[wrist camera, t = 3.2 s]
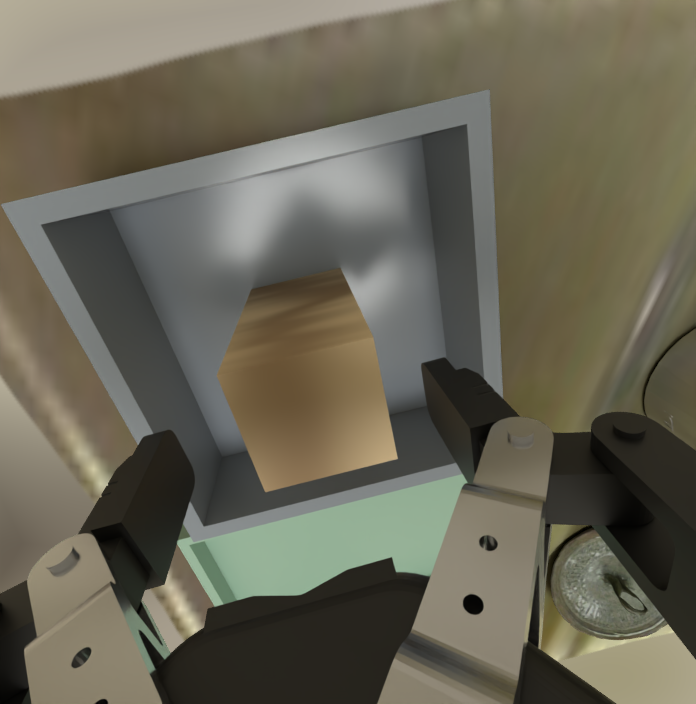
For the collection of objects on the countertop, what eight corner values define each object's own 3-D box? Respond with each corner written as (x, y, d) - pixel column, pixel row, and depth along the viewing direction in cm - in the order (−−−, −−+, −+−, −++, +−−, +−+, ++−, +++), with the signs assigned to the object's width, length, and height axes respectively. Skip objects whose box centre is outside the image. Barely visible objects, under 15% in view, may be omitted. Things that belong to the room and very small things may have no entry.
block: (340, 267, 19) (373, 337, 11) (358, 348, 21) (397, 459, 13) (251, 289, 19) (216, 375, 11) (277, 368, 21) (265, 492, 13)
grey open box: (430, 115, 18) (489, 89, 12) (459, 398, 24) (505, 462, 19) (93, 195, 17) (0, 204, 12) (216, 459, 24) (193, 542, 19)
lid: (569, 613, 36) (608, 675, 32) (520, 565, 32) (557, 629, 28) (673, 553, 34) (730, 611, 30) (634, 495, 30) (694, 551, 26)
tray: (509, 426, 26) (529, 450, 23) (513, 545, 31) (530, 575, 29) (186, 508, 25) (175, 540, 23) (245, 615, 30) (241, 650, 28)
